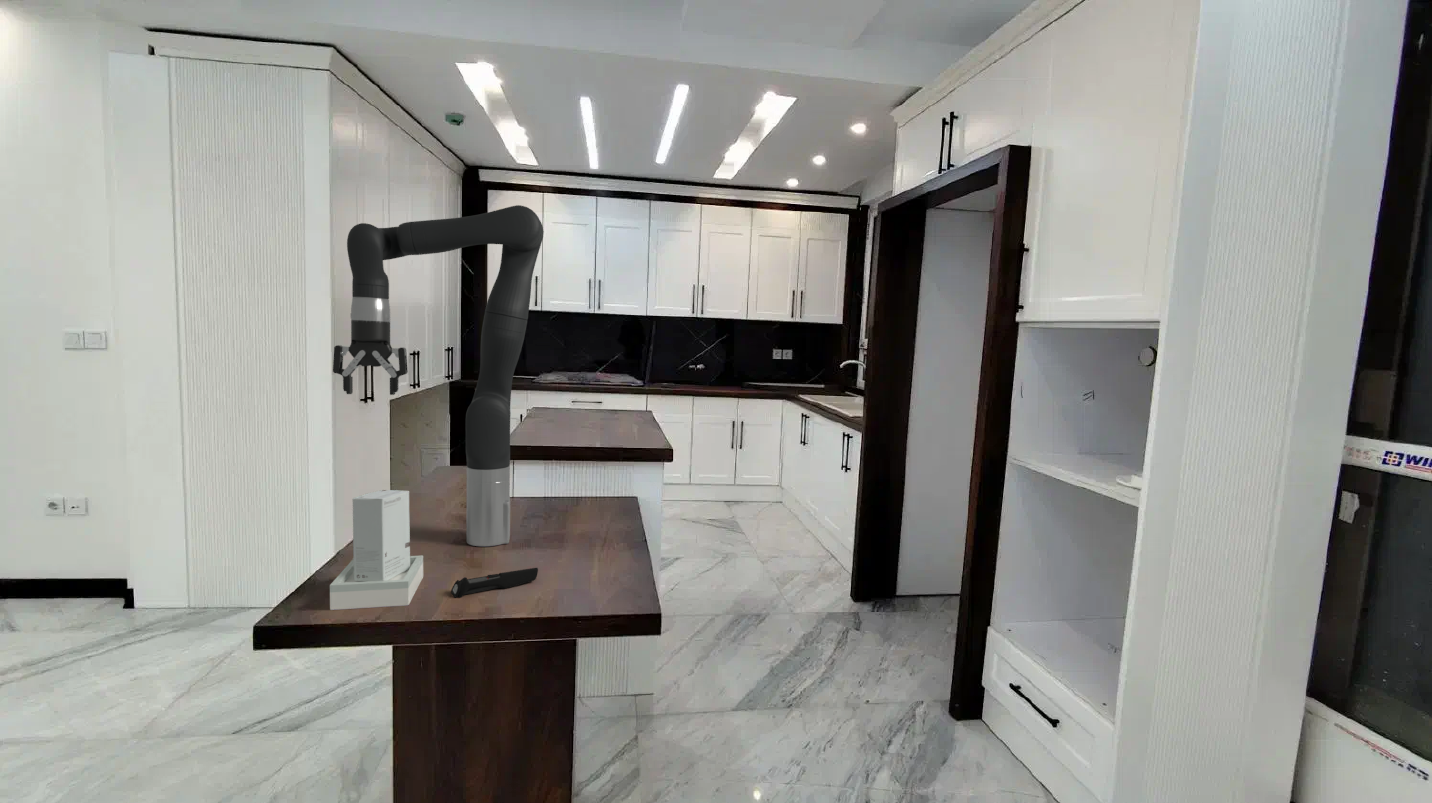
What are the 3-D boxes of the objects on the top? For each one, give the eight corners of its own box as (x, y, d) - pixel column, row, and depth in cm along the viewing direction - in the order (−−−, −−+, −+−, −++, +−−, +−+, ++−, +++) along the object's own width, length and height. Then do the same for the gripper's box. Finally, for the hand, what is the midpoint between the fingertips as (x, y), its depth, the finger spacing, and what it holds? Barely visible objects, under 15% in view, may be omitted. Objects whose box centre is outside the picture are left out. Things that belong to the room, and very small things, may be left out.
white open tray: (423, 576, 126) (423, 555, 126) (408, 605, 112) (408, 581, 112) (353, 580, 123) (353, 558, 123) (330, 610, 109) (329, 585, 109)
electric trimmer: (540, 586, 125) (541, 569, 125) (455, 600, 116) (455, 583, 116) (534, 580, 128) (534, 564, 128) (450, 593, 119) (450, 576, 119)
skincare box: (383, 584, 113) (382, 499, 112) (351, 581, 114) (350, 497, 113) (411, 568, 122) (411, 489, 120) (381, 566, 122) (380, 487, 121)
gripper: (409, 321, 148) (409, 393, 149) (339, 318, 144) (339, 392, 146) (403, 320, 141) (403, 396, 142) (328, 317, 137) (329, 395, 138)
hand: (371, 394), depth 144 cm, fingers open, 8 cm apart
